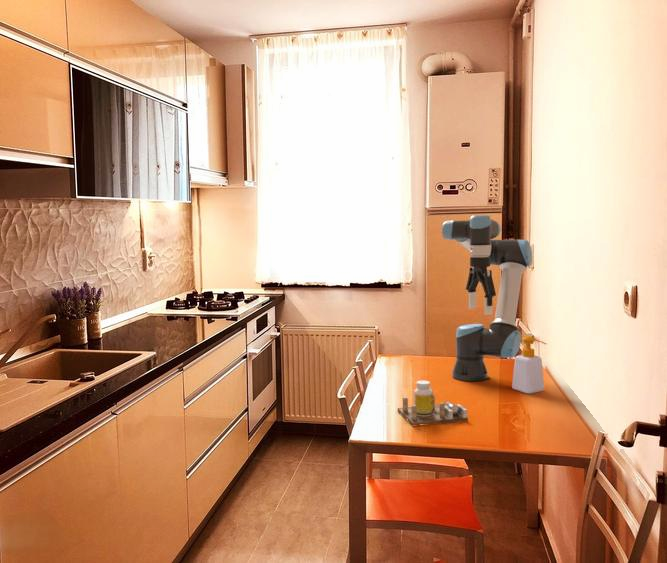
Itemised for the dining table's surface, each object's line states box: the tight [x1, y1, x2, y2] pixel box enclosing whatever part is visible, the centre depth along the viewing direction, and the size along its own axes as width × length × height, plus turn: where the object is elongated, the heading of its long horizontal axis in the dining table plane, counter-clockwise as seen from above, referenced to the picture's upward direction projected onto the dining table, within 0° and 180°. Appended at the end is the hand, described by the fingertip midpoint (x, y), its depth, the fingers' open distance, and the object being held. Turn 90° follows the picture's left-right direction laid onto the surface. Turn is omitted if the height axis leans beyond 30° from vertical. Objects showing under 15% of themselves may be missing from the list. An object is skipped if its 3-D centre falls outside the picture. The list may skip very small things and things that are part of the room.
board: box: [397, 394, 469, 426], centre depth 203 cm, size 16×20×6 cm
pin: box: [444, 401, 460, 416], centre depth 202 cm, size 7×3×3 cm, turn 12°
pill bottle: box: [413, 380, 434, 417], centre depth 201 cm, size 6×6×12 cm
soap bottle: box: [511, 335, 547, 395], centre depth 228 cm, size 10×14×22 cm
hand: (480, 311), depth 219 cm, fingers open, 13 cm apart
